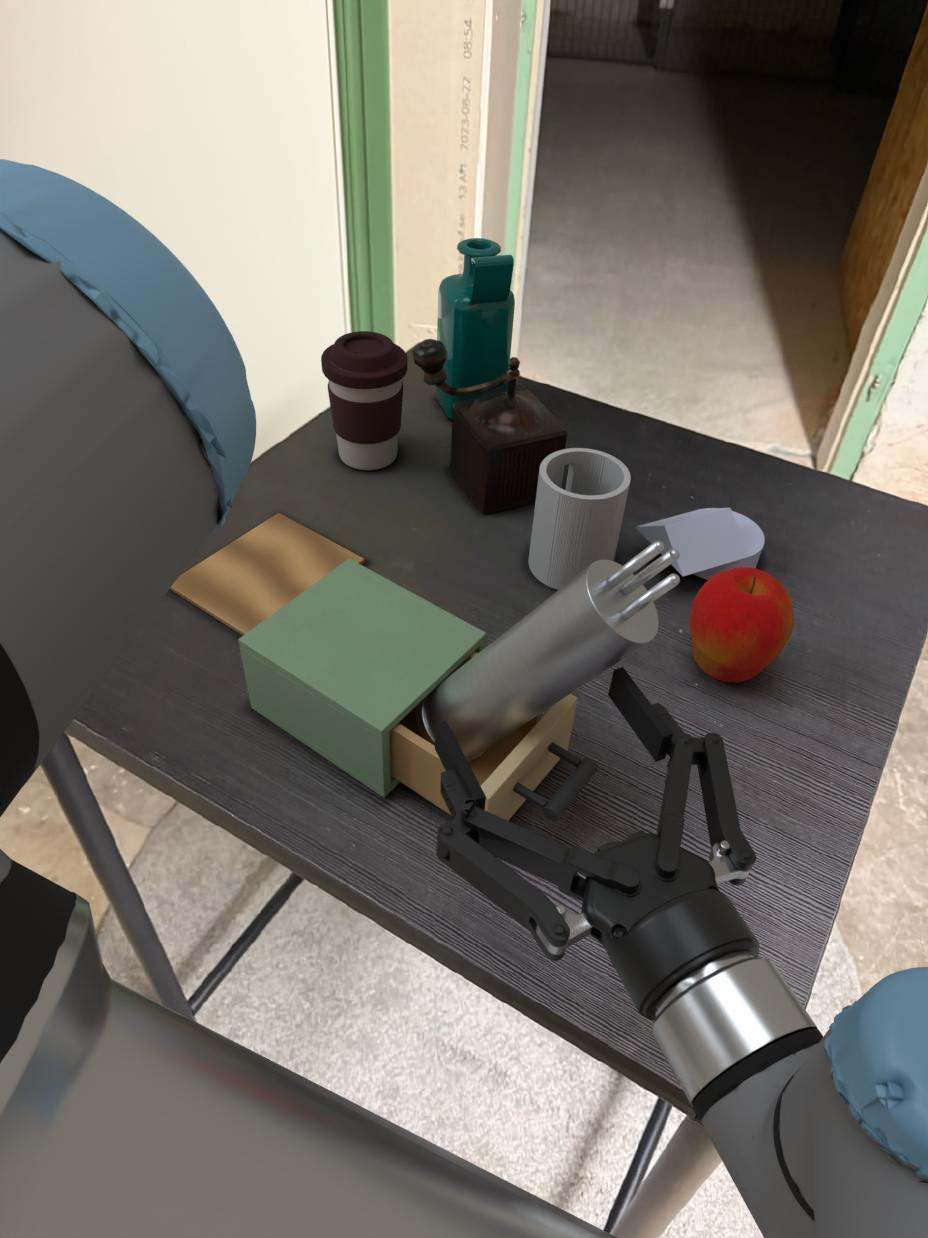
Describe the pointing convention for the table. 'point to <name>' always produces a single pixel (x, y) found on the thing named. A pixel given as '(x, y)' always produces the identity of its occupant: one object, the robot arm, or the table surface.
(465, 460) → the manual coffee grinder
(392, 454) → the coffee cup
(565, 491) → the cup
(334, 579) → the cabinet
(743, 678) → the apple
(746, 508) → the table surface
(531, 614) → the cylinder
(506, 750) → the drawer
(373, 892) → the table surface
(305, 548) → the wooden board
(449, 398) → the teal bottle
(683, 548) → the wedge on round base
